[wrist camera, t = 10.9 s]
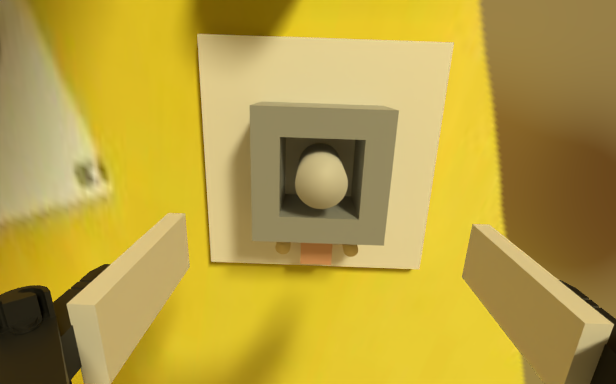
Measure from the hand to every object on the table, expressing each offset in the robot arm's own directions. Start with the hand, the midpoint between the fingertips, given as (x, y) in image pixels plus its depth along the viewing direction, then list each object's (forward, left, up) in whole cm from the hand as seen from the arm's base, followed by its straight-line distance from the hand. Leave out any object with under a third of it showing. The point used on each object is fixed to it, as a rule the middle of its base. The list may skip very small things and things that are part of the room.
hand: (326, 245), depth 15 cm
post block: (0, 0, -19) cm, 19 cm away
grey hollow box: (+2, 0, -17) cm, 18 cm away
